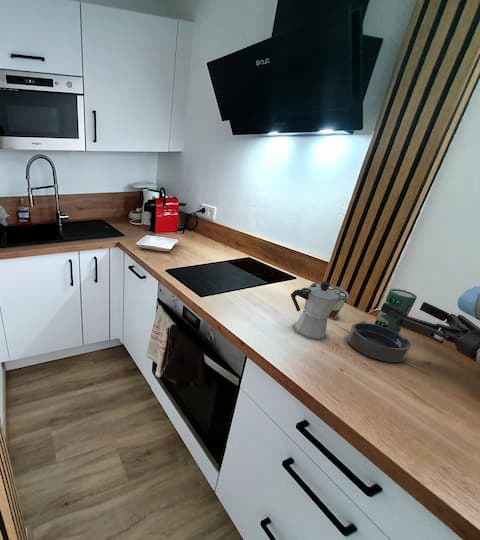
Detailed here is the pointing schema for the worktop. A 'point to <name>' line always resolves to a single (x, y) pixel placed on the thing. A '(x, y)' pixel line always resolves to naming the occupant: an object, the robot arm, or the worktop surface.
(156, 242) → the plate
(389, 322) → the can
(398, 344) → the basin
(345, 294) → the food container
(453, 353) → the worktop surface
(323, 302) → the coffee maker
